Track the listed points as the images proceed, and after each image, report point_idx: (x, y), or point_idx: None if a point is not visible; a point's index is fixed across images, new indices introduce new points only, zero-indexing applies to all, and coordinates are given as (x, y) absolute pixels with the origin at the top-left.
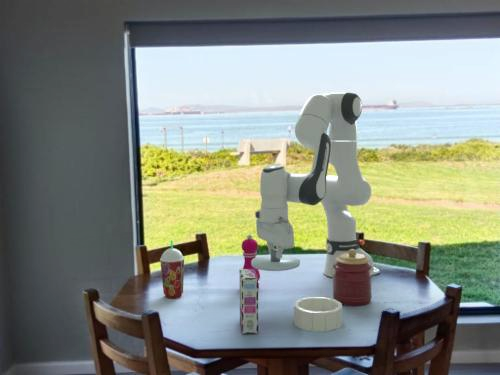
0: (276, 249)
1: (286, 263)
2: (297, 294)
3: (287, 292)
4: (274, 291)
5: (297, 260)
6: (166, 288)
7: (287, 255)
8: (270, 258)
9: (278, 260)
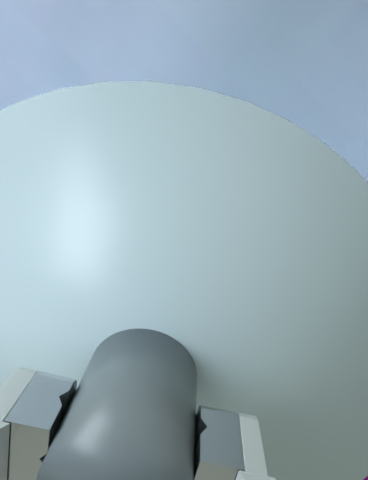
0: (100, 472)
1: (320, 370)
2: (124, 26)
3: (61, 51)
4: (7, 101)
5: (334, 198)
6: None
7: (30, 118)
8: (36, 358)
9: (197, 387)
